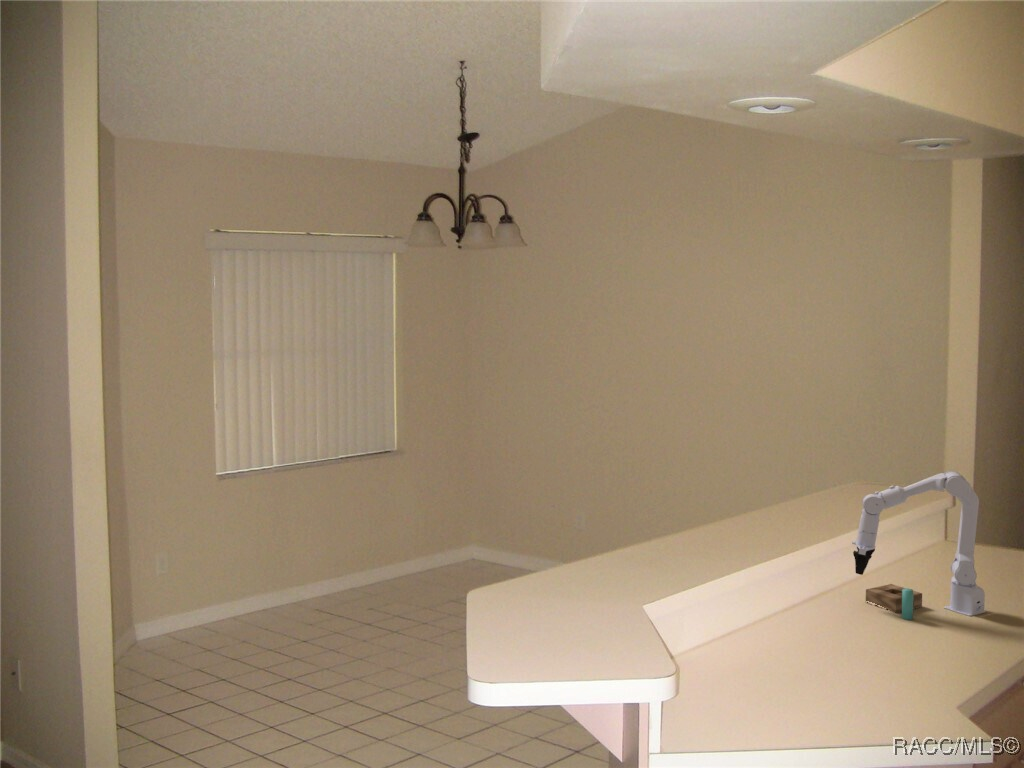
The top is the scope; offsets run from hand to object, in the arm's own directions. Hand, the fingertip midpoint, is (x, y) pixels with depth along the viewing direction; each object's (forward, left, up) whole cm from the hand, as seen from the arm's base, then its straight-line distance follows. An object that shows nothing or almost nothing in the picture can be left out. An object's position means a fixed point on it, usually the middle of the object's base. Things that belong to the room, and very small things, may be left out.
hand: (860, 571), depth 307 cm
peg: (-19, +1, -10) cm, 21 cm away
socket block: (-8, -6, -10) cm, 14 cm away
